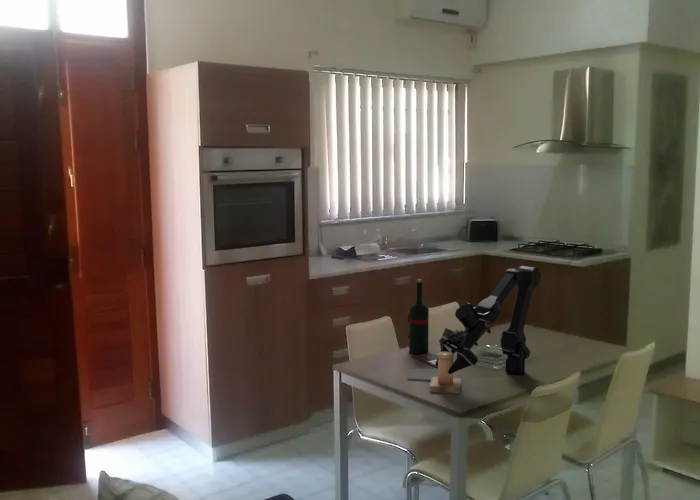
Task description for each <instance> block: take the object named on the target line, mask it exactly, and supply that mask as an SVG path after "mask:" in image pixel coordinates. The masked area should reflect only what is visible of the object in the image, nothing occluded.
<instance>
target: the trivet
mask: <svg viewBox="0 0 700 500" xmlns="http://www.w3.org/2000/svg"><path fill="white" fill-rule="evenodd" d="M461 383H462V381H461V377H459V378H458V377H453V384H449V385H444V384H440V383H438V377H432V378H431V381H430V383H429V392H430V393H444V394H461V386H462V385H461Z"/></svg>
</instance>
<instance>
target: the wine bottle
mask: <svg viewBox="0 0 700 500" xmlns="http://www.w3.org/2000/svg"><path fill="white" fill-rule="evenodd" d="M429 312H430V311H429V307H428V306H427V304H426V303H425V302H423V279H421V278H418V279H416V302H414V303H412V304H411V307H410V308H409V313H408V314H407V322H408V324H409V328H408V329H409V333H408V336H407V339H409V341H408V353H409V354H411V355H413V356H414V355H420V354H425V353H429V317H430V314H429Z"/></svg>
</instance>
